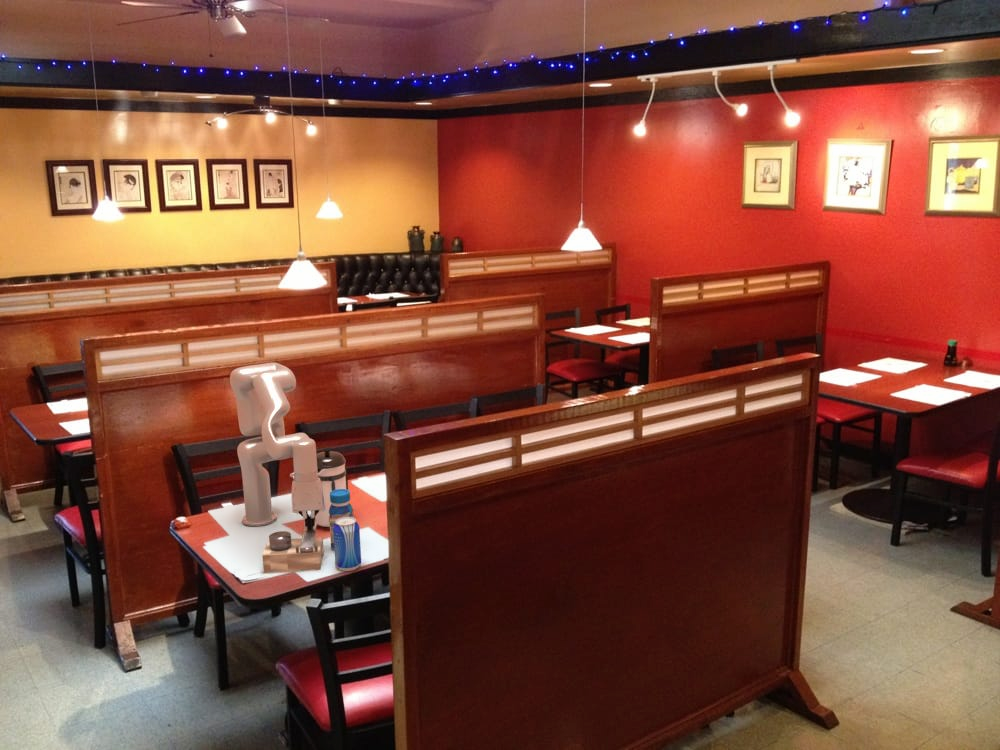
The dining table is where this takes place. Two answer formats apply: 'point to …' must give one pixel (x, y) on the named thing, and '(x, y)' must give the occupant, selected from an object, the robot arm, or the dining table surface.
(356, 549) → the beer can
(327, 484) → the coffee press
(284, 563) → the board
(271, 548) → the pin
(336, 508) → the beverage bottle
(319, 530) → the dining table surface
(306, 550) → the bar
